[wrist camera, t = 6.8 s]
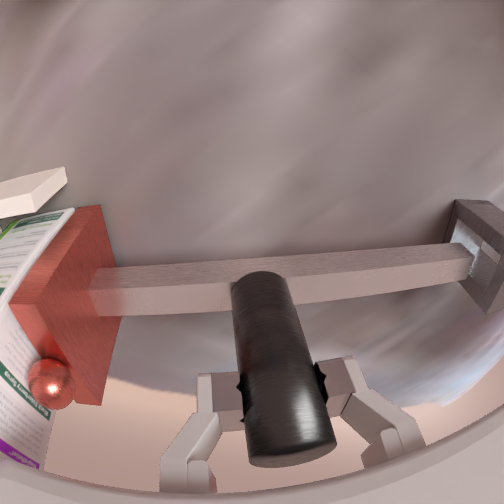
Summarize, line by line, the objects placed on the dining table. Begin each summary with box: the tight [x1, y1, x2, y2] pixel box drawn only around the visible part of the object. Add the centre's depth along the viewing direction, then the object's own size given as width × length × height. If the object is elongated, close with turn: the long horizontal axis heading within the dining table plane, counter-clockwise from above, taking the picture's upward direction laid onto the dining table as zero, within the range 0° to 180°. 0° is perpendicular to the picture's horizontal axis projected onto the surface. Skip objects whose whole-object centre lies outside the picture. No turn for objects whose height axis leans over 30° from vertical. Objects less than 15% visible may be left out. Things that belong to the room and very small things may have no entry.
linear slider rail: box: [8, 205, 475, 468], centre depth 13 cm, size 24×7×12 cm, turn 91°
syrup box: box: [0, 208, 75, 471], centre depth 11 cm, size 6×6×14 cm
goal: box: [0, 167, 67, 234], centre depth 15 cm, size 8×12×4 cm, turn 1°
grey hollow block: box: [443, 199, 504, 315], centre depth 17 cm, size 4×5×7 cm
